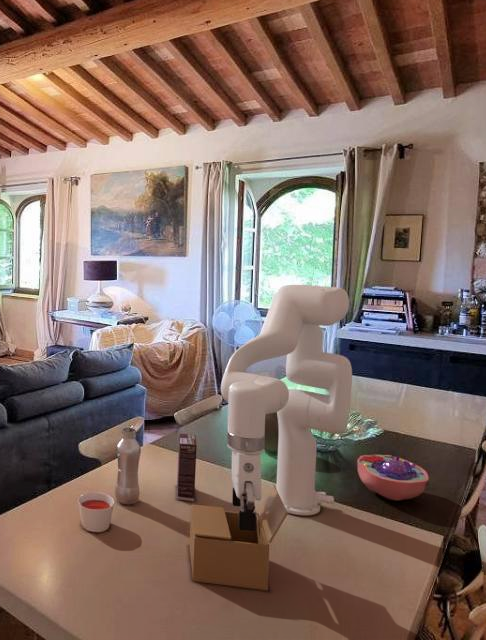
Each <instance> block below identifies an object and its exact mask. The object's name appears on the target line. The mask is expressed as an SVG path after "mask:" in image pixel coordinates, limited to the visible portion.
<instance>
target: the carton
mask: <svg viewBox="0 0 486 640" xmlns="http://www.w3.org/2000/svg"><path fill="white" fill-rule="evenodd" d="M189 520H190V521H189V523H190V524H189V555H190V565H191V575H192V576H191V577H192V581H193V582H198V583H206V584H214V585H222V586H230V587H238V588H245V589H246V588H247V589H253V590H261V591H262V590H263V591H268V589H269V588H268V585H269V567H270V564H269V563H270V543H269V541H268V538H267V536H266V533H265V530H264V528H263V525H262V522H261V520H260V517H259V514H258V513H256V522H255V531H248V530H240V529H239V511H229V510H225V507H221V506H211V505H201V504H193V503H192V504H190V519H189Z"/></svg>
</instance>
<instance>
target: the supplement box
mask: <svg viewBox="0 0 486 640" xmlns="http://www.w3.org/2000/svg"><path fill="white" fill-rule="evenodd" d="M197 447H198V444H197V437H196V434H190V433H179V435H178V455H177V456H178V458H177V459H178V460H177V478H176V482H177V483H176V497H177V498H176V499H177V500H179V501H187V502H195V493H196V471H197V469H196V468H197V466H196V465H197Z"/></svg>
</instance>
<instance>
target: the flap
mask: <svg viewBox="0 0 486 640" xmlns="http://www.w3.org/2000/svg"><path fill="white" fill-rule="evenodd" d="M257 514H258V516H259V519H260V522H261V525H262V527H263V530H264V533H265V535H266V538H267V541H268V544H271V543H272V542H273V540H274V538H275V537H276V535H277V533H278V531H279V530H280V528H281V526H282V524H283V523H284V521H285V520H286V518H287V516H288V514H289V513H288V512H287V510H286V508H285V506H284V504H283V502H282V500H281V498H280V496H279V494H278V492H277V490H276V485H275V484H272V485H271V487H270V488H269V490H268V492H267V493H266V496H265V497H264V499H263V501H262V502H261V504H260V505H259V508H258V509H257Z"/></svg>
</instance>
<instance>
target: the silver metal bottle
mask: <svg viewBox="0 0 486 640" xmlns="http://www.w3.org/2000/svg"><path fill="white" fill-rule="evenodd" d="M136 438H137V430H136V428H133V427H123V428H122V429H121V439H120V440H119V442H118V443H117V446H116V457H117V477H116V485H115V488H114V493H115V494H114V495H115V498H116V500H117V501H118V502H119V503H121V504H124V505H133V504H135V503H137V501H138V500H139V498H140V493H141V492H140V485H139V465H140V458H141V453H142V448H141V445H140V443H139V442H138V440H137V439H136Z"/></svg>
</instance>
